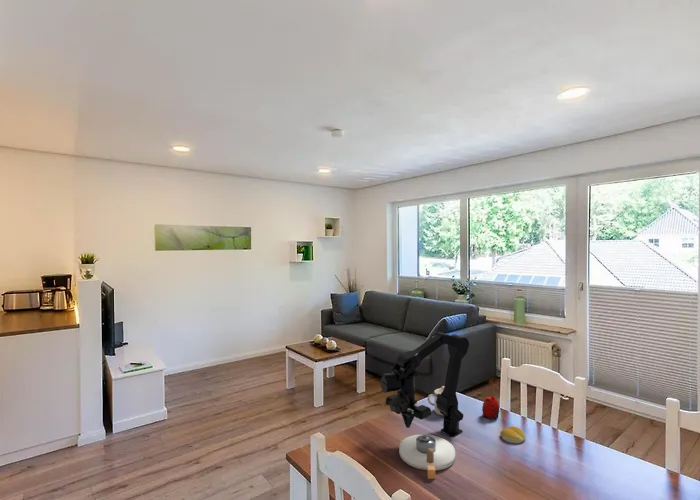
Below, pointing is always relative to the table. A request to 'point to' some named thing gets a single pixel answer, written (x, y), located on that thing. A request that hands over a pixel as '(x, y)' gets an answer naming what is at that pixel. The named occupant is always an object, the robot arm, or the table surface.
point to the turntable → (419, 460)
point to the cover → (425, 443)
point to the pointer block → (431, 472)
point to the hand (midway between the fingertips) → (407, 427)
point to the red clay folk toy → (491, 407)
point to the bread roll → (513, 435)
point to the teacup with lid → (436, 399)
